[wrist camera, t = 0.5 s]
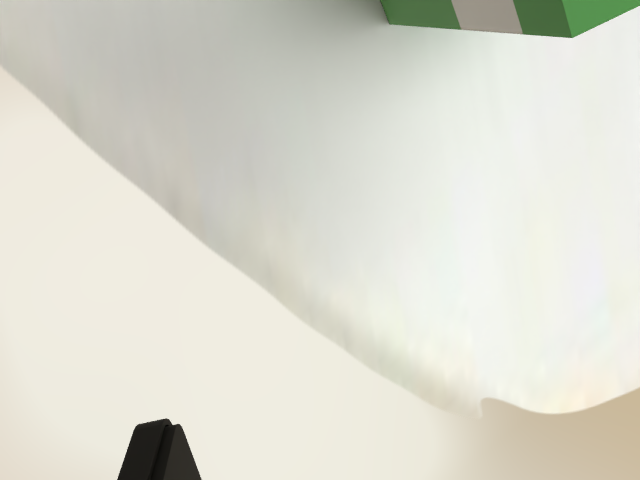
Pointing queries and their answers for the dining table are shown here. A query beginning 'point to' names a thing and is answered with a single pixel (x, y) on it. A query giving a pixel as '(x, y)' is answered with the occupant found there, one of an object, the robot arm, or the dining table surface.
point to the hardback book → (508, 15)
